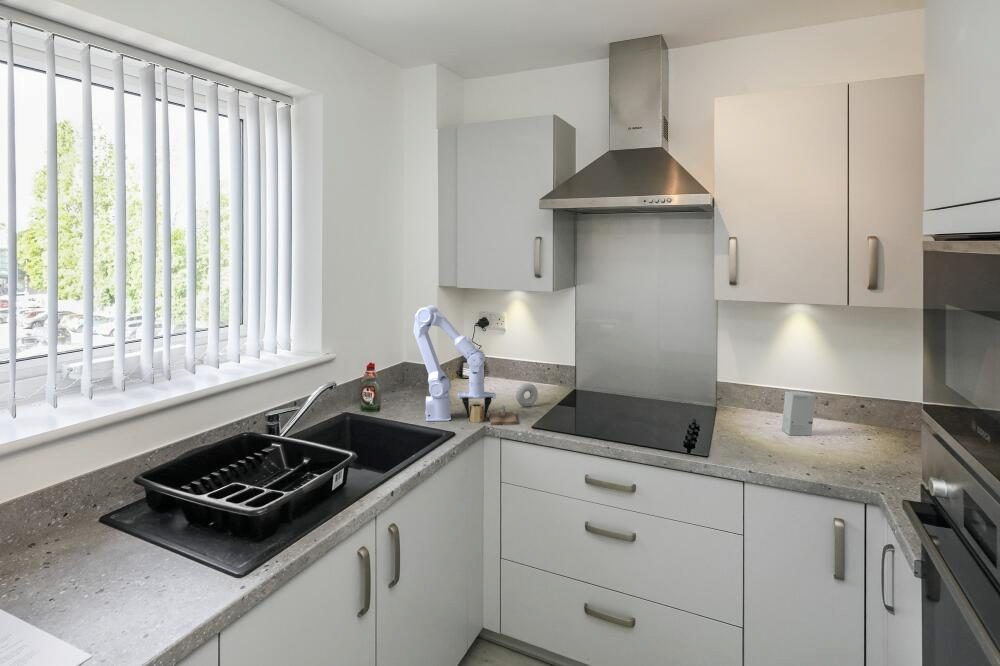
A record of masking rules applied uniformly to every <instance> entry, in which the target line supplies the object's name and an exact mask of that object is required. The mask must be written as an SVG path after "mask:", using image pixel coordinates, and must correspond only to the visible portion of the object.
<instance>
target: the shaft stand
mask: <svg viewBox="0 0 1000 666" xmlns="http://www.w3.org/2000/svg"><path fill="white" fill-rule="evenodd" d="M499 408H500V409H499V411H491V412H490V411H489V412H488V419H489V423H490V425H491V426H503V425H504V426H506V425H510V426H511V425H518V419H517V417H516V415H515V412H514V411H506V406H504V405H501V406H500V407H499Z"/></svg>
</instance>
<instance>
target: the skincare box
mask: <svg viewBox="0 0 1000 666" xmlns="http://www.w3.org/2000/svg"><path fill="white" fill-rule="evenodd" d="M815 402H816V394H813V393H810V392H806V391H789V390H788V391H784V402H783V412H782V420H781V421H782V422H781V431H782V432H784V433H785V434H787V435H788V436H812V433H813V424H814V412H815V404H816V403H815Z"/></svg>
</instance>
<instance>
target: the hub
mask: <svg viewBox="0 0 1000 666" xmlns="http://www.w3.org/2000/svg"><path fill="white" fill-rule="evenodd" d="M484 408H485V405H484V404H483V403H471V404H469V422H472V423H481V422H484V421H485V419H484V418H485V417H484Z"/></svg>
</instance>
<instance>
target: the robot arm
mask: <svg viewBox="0 0 1000 666" xmlns="http://www.w3.org/2000/svg"><path fill="white" fill-rule="evenodd" d="M413 317H414V324H413V331H412V332H413V335H414V338H415V341H416V344H417V346H418V349H419V352H420V355H421V357H422V360H423V362H424V366H425V368H426V370H427V371H426V372H427V373H428V378H427V383H428V392H429V394H430V396H428V395H427V396H425V411H424V412H425V413H424V414H425V422H438V421H439V422H441V421H442V422H444V421H449V420H450V421H451V420H452V417H451V416H452V414H451V413H450V411H451V410H450V408H451V407H450V403H451V402H450V401H451V400H450V392H449V391H450V390H451V387H452V382H451V380H450V379H449V378H448V377H447V375H446V373H445V372H444V371H443V369H442V368H441V365H440V362H439V359H438V357H437V354H436V351H435V348H434V345H433V343H432V339H431V337H430V335H429V331H430V328H431V326H435V327H437V328H438V327H439V328H440V329H441V330H442V331H443V332H444V333H445V334H446V335H447V336H448V337H449V338H450V339H451V340H452V341H453V342H454V348H455V349H456V350H458V352H459V353H460V354H461V355H462V356H463V358H465V359H466V363H467V365H468V367H469V369H468V370H469V371H468V384H469V385H468V386H469V387H468V392H460V393H459V392H458V393H457V400H461V402H462V404H463V406H464V409H465V412H466V415H467V418H468V419H470V404H469V403H470V399H471V400H472V399H473V400H474V399H476V400H479V399H483V400H484V404H483V405H484V418H487V415H488V411H489V407H490V405H491V404H492V399H493V400H494V399H497V397H496V396H497V394H496V392H491V391H490V392H487V391H485V365H484V363H485V362H486V354H485V353H484V351H483V350H481V349H480V347H478V346H477V347H476V345H475V344H474V343H473V342H472V341H471V340H472V339H471V338H470V336H468V337H467V336H466V335H461V334H460V333H459V332H458V329H456V328H455V327H454V326H453V325H452V323H451V322H450V321H449V320H448V318H447V317H446V316H445V314H444V313H443V312H442V311H441V310H439V309H438V307H437V306H435V305H432V304H430V305H428V306H425V307H420V308H419V309H418V310H417V312H416V313H415V315H414V316H413Z"/></svg>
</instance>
